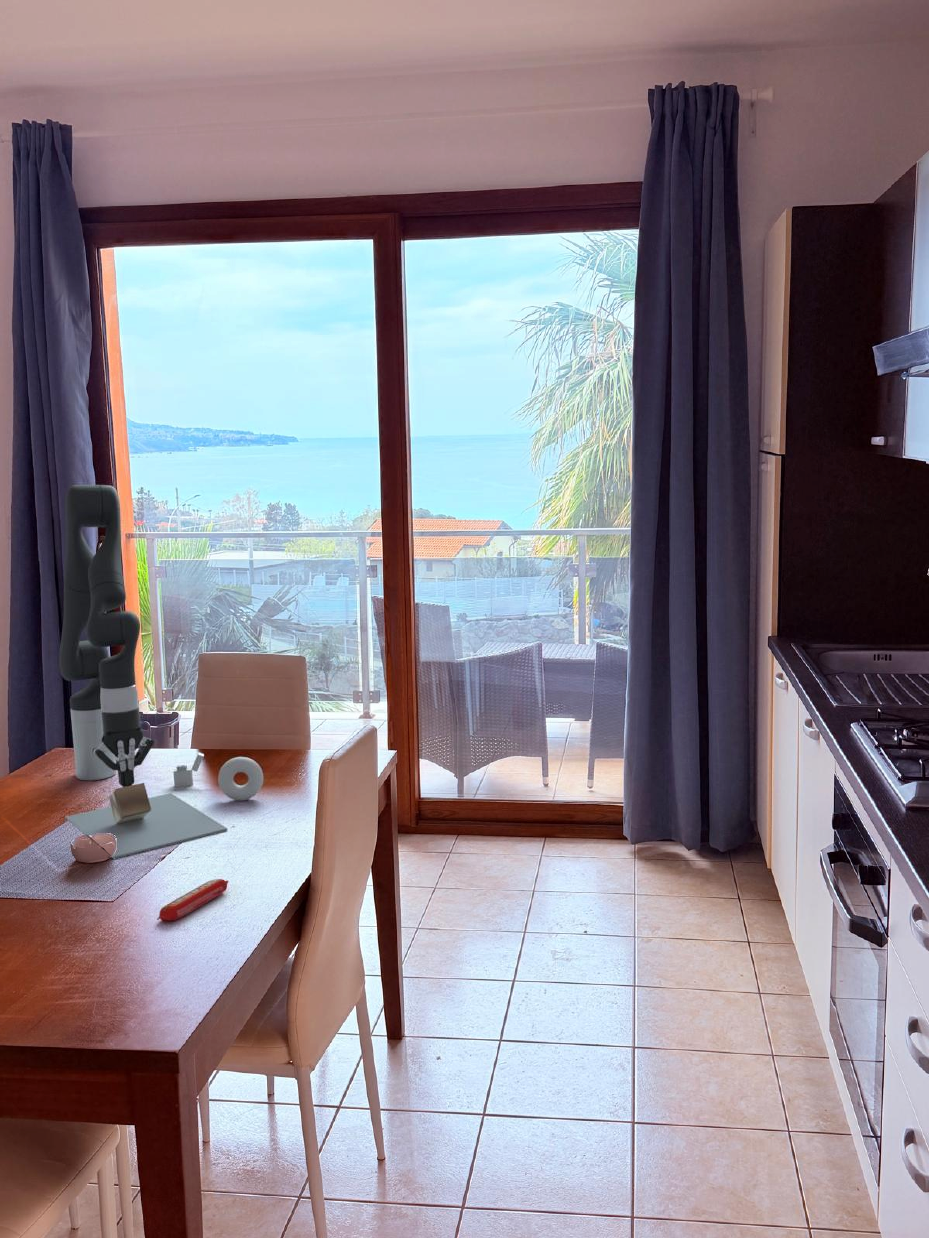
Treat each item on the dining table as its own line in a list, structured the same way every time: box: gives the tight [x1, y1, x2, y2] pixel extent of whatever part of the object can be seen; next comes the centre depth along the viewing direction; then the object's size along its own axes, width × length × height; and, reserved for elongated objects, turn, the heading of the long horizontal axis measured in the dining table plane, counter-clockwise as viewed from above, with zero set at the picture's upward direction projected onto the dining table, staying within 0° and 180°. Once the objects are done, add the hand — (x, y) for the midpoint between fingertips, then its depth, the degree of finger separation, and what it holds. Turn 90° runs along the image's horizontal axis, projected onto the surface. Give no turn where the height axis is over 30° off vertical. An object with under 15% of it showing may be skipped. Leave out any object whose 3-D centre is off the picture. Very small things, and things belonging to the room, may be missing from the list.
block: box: [108, 782, 151, 824], centre depth 233 cm, size 6×6×6 cm
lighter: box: [172, 752, 205, 788], centre depth 257 cm, size 7×2×8 cm, turn 100°
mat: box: [64, 792, 228, 860], centre depth 233 cm, size 30×24×1 cm
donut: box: [217, 756, 264, 802], centre depth 247 cm, size 10×4×10 cm, turn 97°
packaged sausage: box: [156, 878, 230, 922], centre depth 192 cm, size 16×4×3 cm, turn 153°
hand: (126, 786), depth 233 cm, fingers closed
